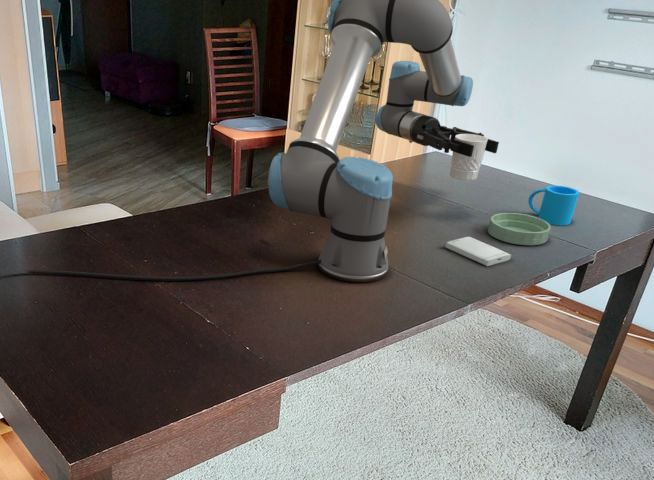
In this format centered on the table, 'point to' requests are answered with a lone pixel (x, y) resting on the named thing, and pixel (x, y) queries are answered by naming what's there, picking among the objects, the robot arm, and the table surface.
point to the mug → (556, 204)
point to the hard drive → (478, 251)
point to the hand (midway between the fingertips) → (484, 149)
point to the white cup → (466, 165)
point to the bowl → (519, 228)
